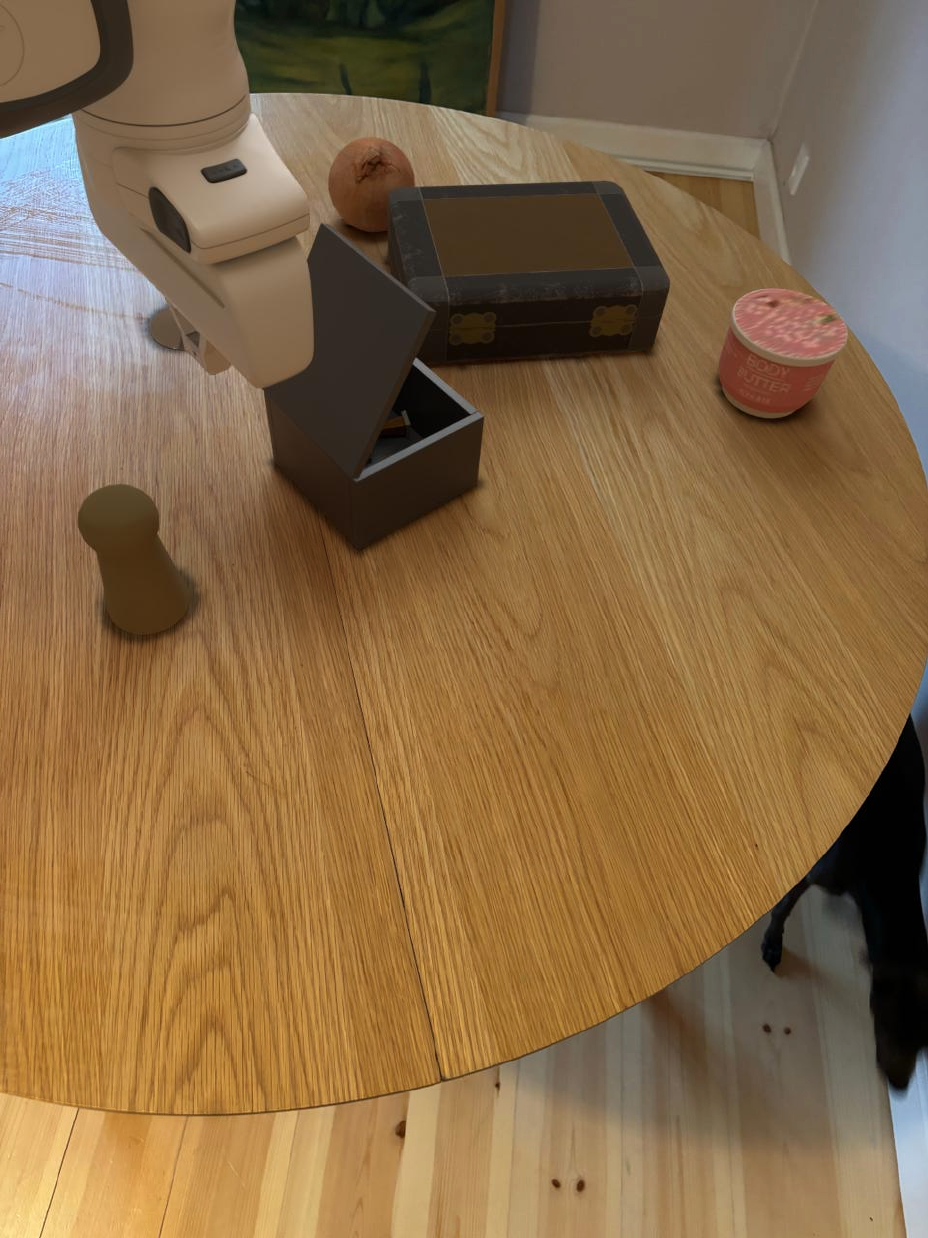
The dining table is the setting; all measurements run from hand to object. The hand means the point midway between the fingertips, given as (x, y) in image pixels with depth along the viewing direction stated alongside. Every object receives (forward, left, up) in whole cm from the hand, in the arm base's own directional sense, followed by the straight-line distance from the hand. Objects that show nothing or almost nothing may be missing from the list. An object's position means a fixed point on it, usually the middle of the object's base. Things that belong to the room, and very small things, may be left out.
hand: (209, 360), depth 58 cm
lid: (+10, 0, -4) cm, 11 cm away
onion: (+36, +32, -18) cm, 51 cm away
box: (+13, 0, -18) cm, 22 cm away
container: (+50, -13, -18) cm, 55 cm away
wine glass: (+10, +27, -18) cm, 34 cm away
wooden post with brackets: (+14, +1, -16) cm, 21 cm away
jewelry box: (+40, +12, -18) cm, 45 cm away
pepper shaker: (-9, -1, -18) cm, 20 cm away
